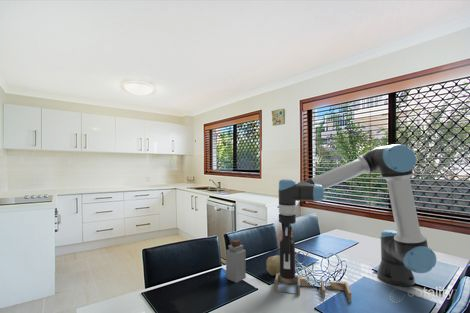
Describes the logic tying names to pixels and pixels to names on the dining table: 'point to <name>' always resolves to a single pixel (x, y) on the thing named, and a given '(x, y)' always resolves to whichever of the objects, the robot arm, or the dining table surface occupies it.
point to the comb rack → (291, 285)
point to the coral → (273, 265)
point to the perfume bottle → (235, 262)
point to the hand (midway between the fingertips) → (287, 265)
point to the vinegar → (290, 272)
